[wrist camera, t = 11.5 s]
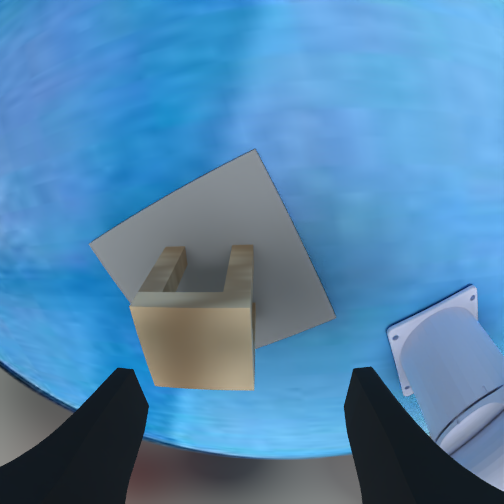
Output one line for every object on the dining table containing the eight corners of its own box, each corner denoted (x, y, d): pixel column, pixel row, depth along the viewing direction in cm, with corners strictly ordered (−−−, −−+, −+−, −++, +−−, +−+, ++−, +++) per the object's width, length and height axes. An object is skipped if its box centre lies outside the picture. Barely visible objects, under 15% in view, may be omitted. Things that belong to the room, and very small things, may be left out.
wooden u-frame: (253, 244, 18) (249, 307, 13) (255, 317, 20) (254, 390, 15) (165, 246, 18) (129, 306, 13) (178, 317, 21) (155, 385, 15)
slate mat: (335, 314, 21) (336, 317, 20) (187, 367, 23) (186, 371, 23) (255, 148, 16) (255, 149, 16) (91, 241, 19) (88, 244, 18)
